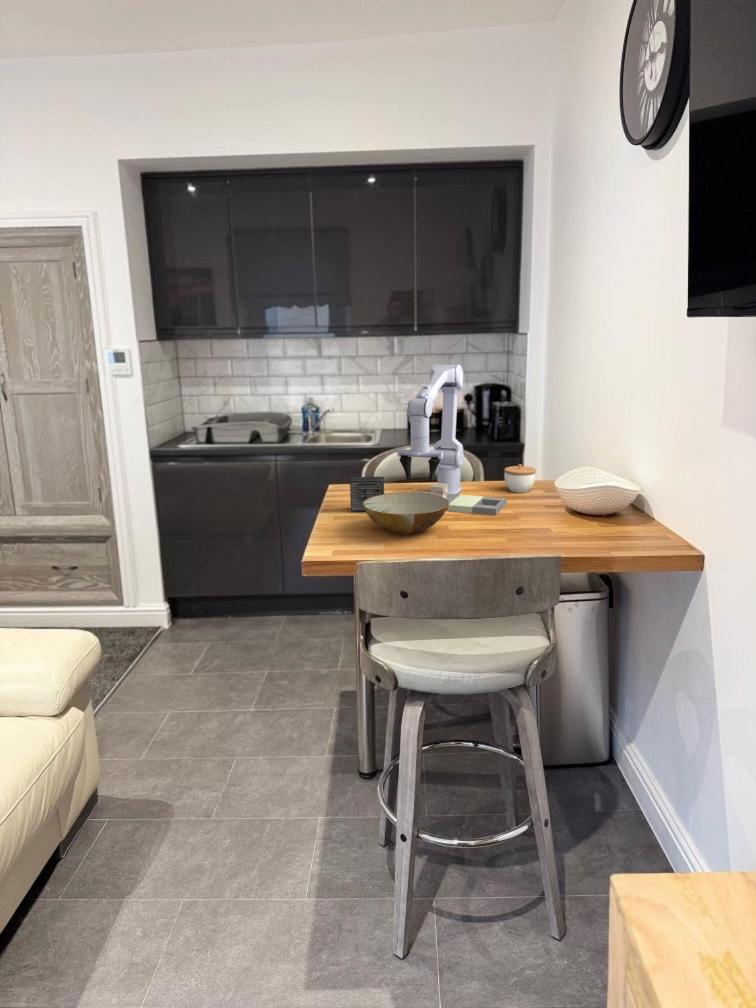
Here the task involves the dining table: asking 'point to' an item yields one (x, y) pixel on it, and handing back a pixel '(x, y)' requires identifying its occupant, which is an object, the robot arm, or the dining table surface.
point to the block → (439, 490)
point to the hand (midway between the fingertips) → (420, 479)
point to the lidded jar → (519, 478)
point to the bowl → (405, 511)
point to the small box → (364, 490)
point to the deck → (473, 503)
